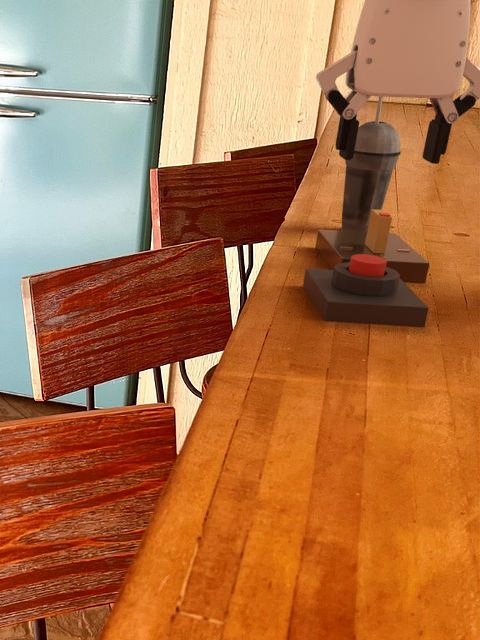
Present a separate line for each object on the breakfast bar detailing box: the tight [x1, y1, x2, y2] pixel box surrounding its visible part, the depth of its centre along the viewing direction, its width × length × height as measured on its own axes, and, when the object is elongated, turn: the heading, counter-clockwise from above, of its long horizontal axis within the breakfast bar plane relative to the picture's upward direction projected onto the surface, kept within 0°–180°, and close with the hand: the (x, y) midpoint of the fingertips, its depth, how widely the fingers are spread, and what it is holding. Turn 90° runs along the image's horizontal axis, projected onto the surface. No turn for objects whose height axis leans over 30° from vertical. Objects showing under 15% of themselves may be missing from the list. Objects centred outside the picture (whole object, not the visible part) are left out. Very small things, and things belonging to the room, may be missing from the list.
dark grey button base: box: [302, 262, 430, 328], centre depth 96 cm, size 10×12×4 cm
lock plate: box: [314, 229, 431, 284], centre depth 112 cm, size 10×14×3 cm
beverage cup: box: [340, 96, 401, 232], centre depth 124 cm, size 7×7×20 cm
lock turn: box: [365, 209, 393, 254], centre depth 108 cm, size 4×1×5 cm, turn 173°
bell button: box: [348, 254, 387, 277], centre depth 95 cm, size 4×4×2 cm
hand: (387, 158), depth 91 cm, fingers open, 7 cm apart
